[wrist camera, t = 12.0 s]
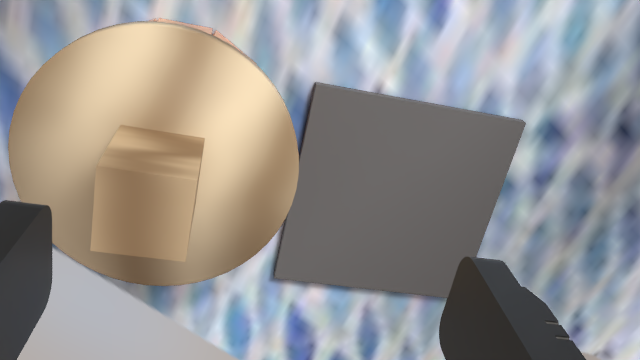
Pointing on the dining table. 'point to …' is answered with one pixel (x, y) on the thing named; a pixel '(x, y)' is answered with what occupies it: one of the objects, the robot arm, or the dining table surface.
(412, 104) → the rubber mat
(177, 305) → the dining table surface
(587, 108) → the dining table surface
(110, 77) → the oak lid
